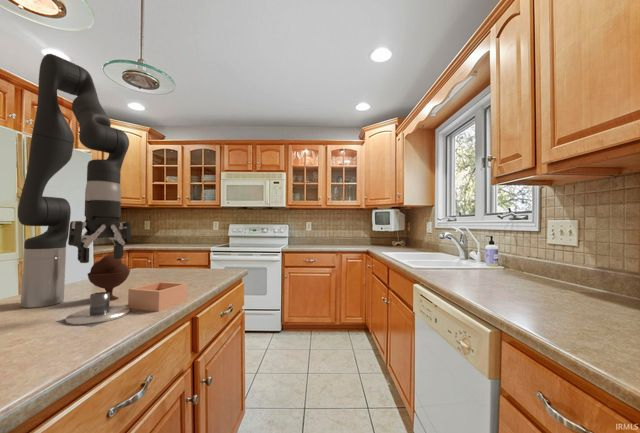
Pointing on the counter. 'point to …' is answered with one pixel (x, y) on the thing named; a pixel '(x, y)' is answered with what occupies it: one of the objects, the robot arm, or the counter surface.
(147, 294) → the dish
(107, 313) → the lid
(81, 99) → the robot arm
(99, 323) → the mat
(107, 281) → the ice cream bowl
